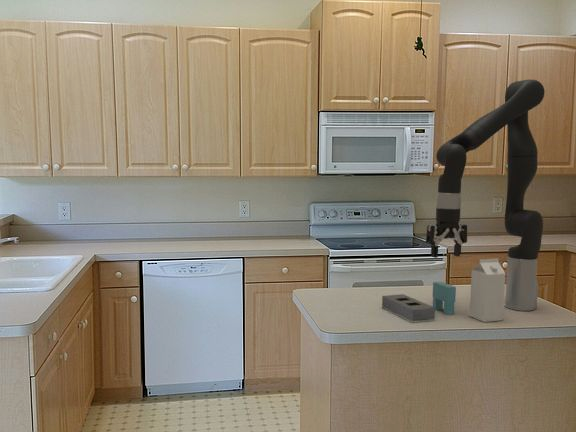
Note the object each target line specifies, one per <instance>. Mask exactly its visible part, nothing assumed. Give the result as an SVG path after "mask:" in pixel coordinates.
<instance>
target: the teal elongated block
mask: <svg viewBox="0 0 576 432" xmlns="http://www.w3.org/2000/svg"><path fill="white" fill-rule="evenodd" d="M456 292H457V286H454V285H452V284H448V283H446V282H444V281H433V283H432V307H434V308H435V311H438V310H443V315H446V316H448V315H454V314H455V303H456V297H457V296H456V295H457V293H456Z"/></svg>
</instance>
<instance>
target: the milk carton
mask: <svg viewBox="0 0 576 432" xmlns="http://www.w3.org/2000/svg"><path fill="white" fill-rule="evenodd" d="M470 278H471V279H470V297H469V298H470V299H469V317H471V318H473V319H476V320H477V321H478V320H479V321H481V322H483V323H488V322H489V323H490V322H498V321H503V317H504V305H505V300H504V299H505V289H506V272H505V270H504V269H503V267H502V265H501V263H499V258H484V259H483V258H482V259H481V258H480V259H479V263H478V264H476V266H474V267H473V268H472V269H471V277H470Z"/></svg>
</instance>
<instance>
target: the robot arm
mask: <svg viewBox="0 0 576 432" xmlns="http://www.w3.org/2000/svg"><path fill="white" fill-rule="evenodd" d="M504 94H505V95H504V103H503V104H501V105H500V106H498V107H497V108H495V109H493V110H491V111H490V112H487V113H486V114H484V115H483V116H481V117H479V118H478V119H476V120H475V121H474V122H472V123H471V124H470V125H469V126H468V127H466V128H465V129H464V130H463V131H462V132H460V133H459V134H457V135H456V136H454V137H452V138H451V139H449V140H448V141H446V142H445V143H443V144H442V145H441V146H440V147H439V148H438V150H437V152H436V156H435V157H436V161H437V162H438V163H439V164H440V165H442V166H444V169H443V173H442V174H441V175H439V176H438V177H439V178H438V183H437V184H438V185H437V197H436V205H435V206H436V207H435V209H436V210H435V221H436V224H435V225H433V224H427V227H426V235H425V236H426V237H425V243H426V244H428V245H430V246H431V247H430V248H431V249H430V255H431V257H432V258H434V259H436V258H437V259H438V256H439V244H440V242H442V241H443V240H444V239H451V240H452V241H453V243H454V248H453V255H454V257H457V258H458V257H460V255H461V254H462V246H463V244H466V243H467V242H468V225H467V224H463V223H460V222H461V209H462V207H461V206H462V198H461V197H462V196H461V195H462V194H461V191H462V190H461V189H462V178H463V175H464V173H465V168H466V165H467V153H468V152H471V151H474V150H476V149H478V148H479V147H481V146H482V145H483V144H484V143H486V141H488V140H489V139H491V137H493V136H494V135H495V134H496V133H497V132H499V131H501V129H503V128H504V127H505V126H506V127H507V128H506V129H507V152H506V153H507V161H506V162H507V163H506V165H507V166H506V169H507V181H506V182H507V186H506V188H507V189H506V191H507V192H506V200H505V201H506V202H505V212H504V229H505V231H506V233H507V234H509V236H512V237H513V236H514V237H520V238H521V239H520V242H519V244H518V245H516V246H511V247H509V248H508V252H507V266H506V267H507V269H506V270H507V271H506V280H505V297H504V299H505V300H504V306H505V307H506V308H508V309H509V310H515V311H521V312H522V311H523V312H524V311H525V312H530V311H534V310H536V309H537V308H538V306H537V305H538V294H539V293H538V292H539V280H537V273H538V272H537V271H538V260H539V259H538V257H539V253H540V250H541V248H542V247H541V246H542V238H543V230H544V219H543V216H542V214H541V213H540V212H539V211H537V210H532V209H531V210H529V209H524V200H525V194H526V191H527V189H528V188H529V186H530V184H531V183H532V181H533V180H534V178H535V176H536V173H537V171H538V152H539V151H538V146H537V143H536V141H535V139H534V136H533V133H532V130H531V129H530V125H529V111H530V110H532V109H534V108H536V107H537V106H539V105H540V104H541V103H542V101H543V100H544V97H545V94H546V91H545V87H544V85H543V84H542V83H541V82H540V81H539V80H537V79H525V80H516V81H513V82H511V83H510V84H509V85H508V86H507V87H506V89H505V93H504ZM458 231H459V232H458Z"/></svg>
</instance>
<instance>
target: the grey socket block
mask: <svg viewBox="0 0 576 432" xmlns="http://www.w3.org/2000/svg"><path fill="white" fill-rule="evenodd" d="M381 298H382V299H381V308H382V309H384V310H386V311H388V312H390V313H392V314H394V315H396V316H397V317H400V318H402V319H403V320H405V321H408V322H409V323H412V324H415V323H425V322H426V323H427V322H432V321H433V322H435V320H436V317H435V316H436V310H435V308H434V307H433V305H429V304H427V303H425V302H423V301H420V300H418V299H416V298H413V297H410V296H408V295H406V294H404V293H401V294H390V295H382V297H381Z"/></svg>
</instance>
